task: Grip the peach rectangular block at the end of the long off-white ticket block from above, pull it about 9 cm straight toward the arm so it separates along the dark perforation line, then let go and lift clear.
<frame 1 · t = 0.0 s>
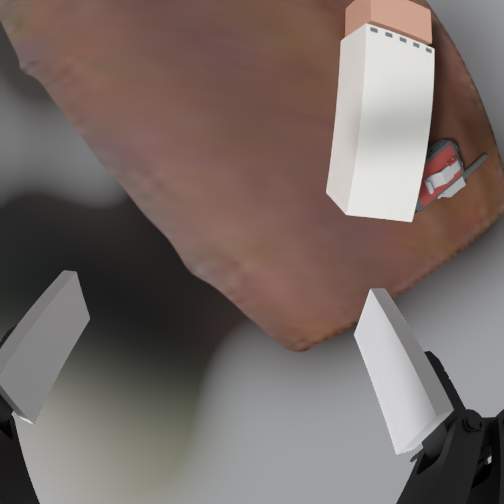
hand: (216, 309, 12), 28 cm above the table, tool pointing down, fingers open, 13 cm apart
ticket block: (366, 120, 33), on the table
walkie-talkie: (441, 166, 36), on the table
peach rectangular block: (386, 22, 22), point 5 cm above the table, slide at 0.0 cm
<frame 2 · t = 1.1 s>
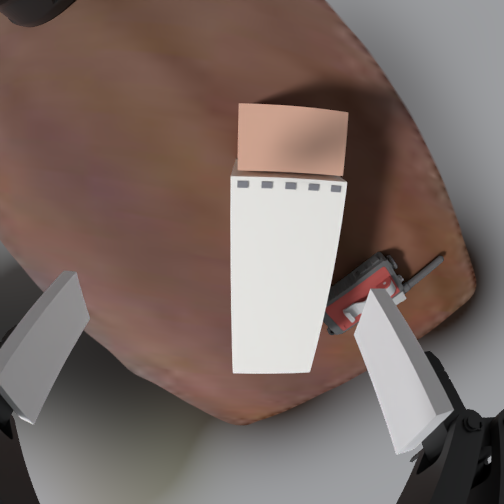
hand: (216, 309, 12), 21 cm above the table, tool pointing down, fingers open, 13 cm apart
ticket block: (273, 253, 34), on the table
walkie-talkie: (377, 279, 37), on the table
peach rectangular block: (286, 135, 23), point 5 cm above the table, slide at 0.0 cm
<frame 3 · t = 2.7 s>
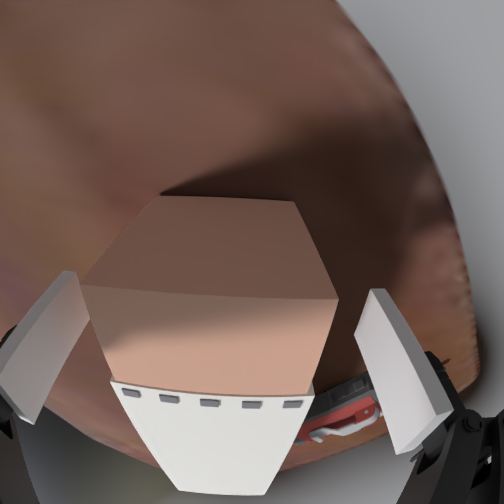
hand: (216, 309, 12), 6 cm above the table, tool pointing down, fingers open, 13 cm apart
ticket block: (222, 378, 24), on the table
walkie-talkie: (358, 391, 27), on the table
peach rectangular block: (215, 279, 13), point 5 cm above the table, slide at 0.0 cm
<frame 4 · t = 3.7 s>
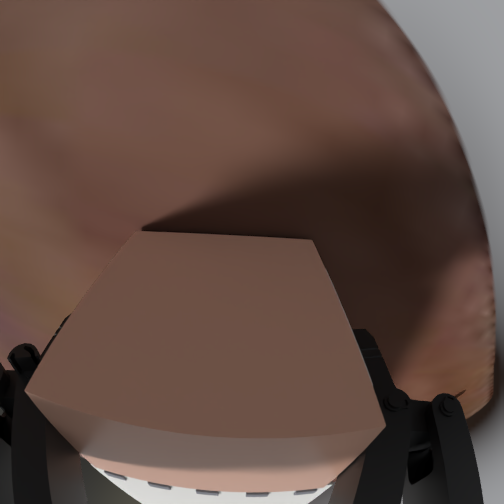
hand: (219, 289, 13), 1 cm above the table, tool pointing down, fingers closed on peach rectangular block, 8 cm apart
ticket block: (222, 421, 20), on the table
peach rectangular block: (211, 352, 9), point 5 cm above the table, slide at 0.0 cm, touching gripper
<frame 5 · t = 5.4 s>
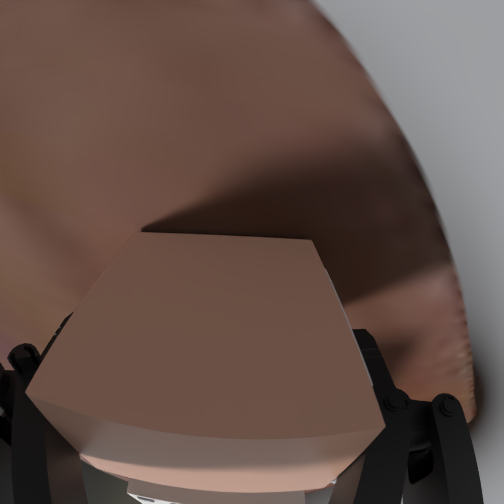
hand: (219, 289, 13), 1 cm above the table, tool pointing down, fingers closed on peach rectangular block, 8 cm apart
ticket block: (224, 442, 22), on the table
peach rectangular block: (211, 353, 10), point 5 cm above the table, slide at 4.7 cm, touching gripper
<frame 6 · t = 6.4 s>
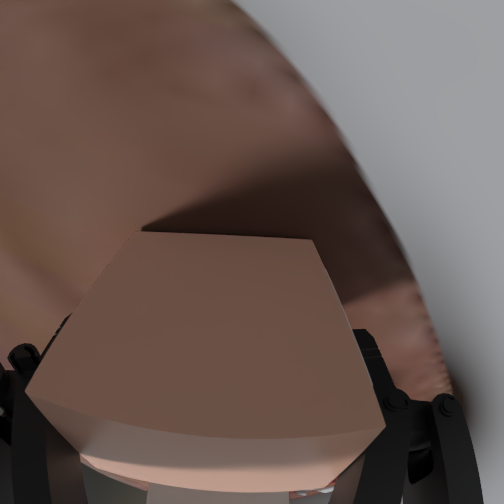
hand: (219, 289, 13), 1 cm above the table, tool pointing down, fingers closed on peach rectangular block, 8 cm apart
ticket block: (224, 455, 24), on the table
peach rectangular block: (211, 352, 9), point 5 cm above the table, slide at 8.9 cm, touching gripper
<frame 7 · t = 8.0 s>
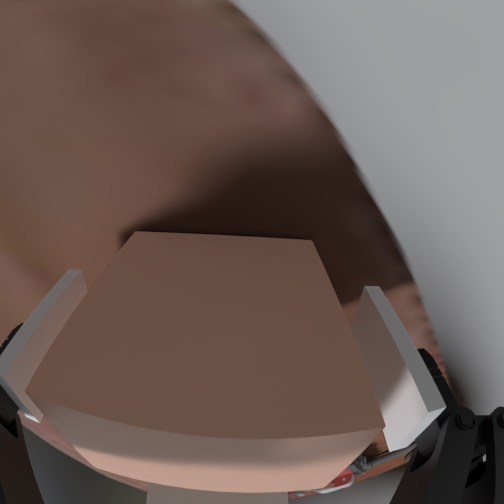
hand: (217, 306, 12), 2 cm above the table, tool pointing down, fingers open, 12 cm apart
ticket block: (224, 456, 24), on the table
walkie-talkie: (339, 457, 27), on the table
peach rectangular block: (211, 353, 10), point 5 cm above the table, slide at 9.0 cm
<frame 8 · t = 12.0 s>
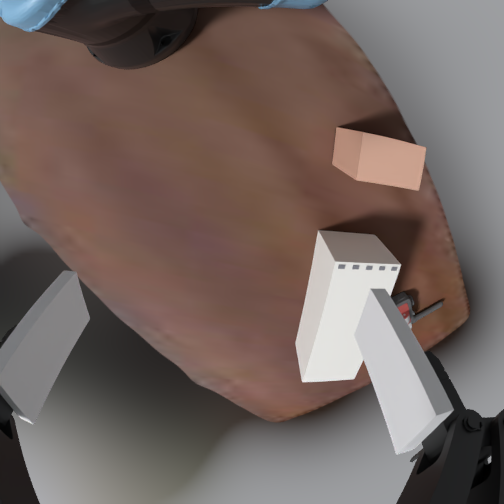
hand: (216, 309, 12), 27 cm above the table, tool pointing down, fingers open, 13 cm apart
ticket block: (332, 295, 44), on the table
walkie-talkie: (395, 310, 47), on the table
peach rectangular block: (376, 155, 30), point 5 cm above the table, slide at 9.0 cm
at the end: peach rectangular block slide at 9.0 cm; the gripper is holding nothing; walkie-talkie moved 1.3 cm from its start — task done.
